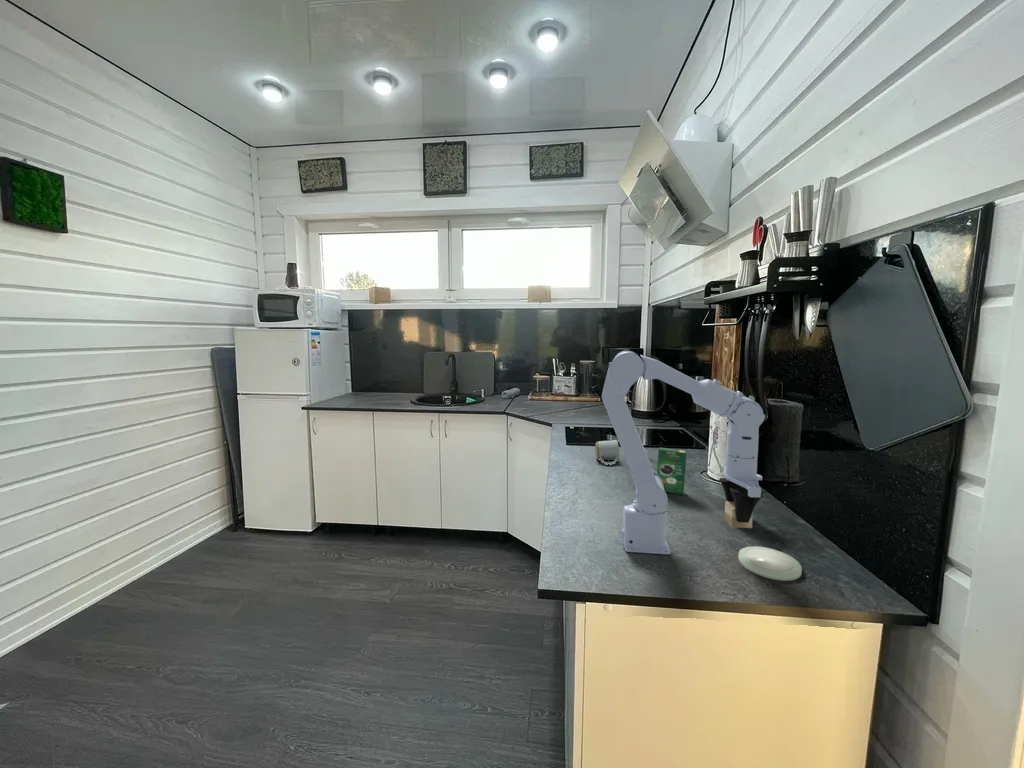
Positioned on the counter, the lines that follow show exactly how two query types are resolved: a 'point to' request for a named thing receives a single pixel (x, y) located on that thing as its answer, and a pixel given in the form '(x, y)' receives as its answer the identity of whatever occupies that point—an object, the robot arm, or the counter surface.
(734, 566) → the counter surface
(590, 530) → the counter surface
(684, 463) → the coffee box
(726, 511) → the block
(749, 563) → the dish
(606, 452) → the ceramic mug
